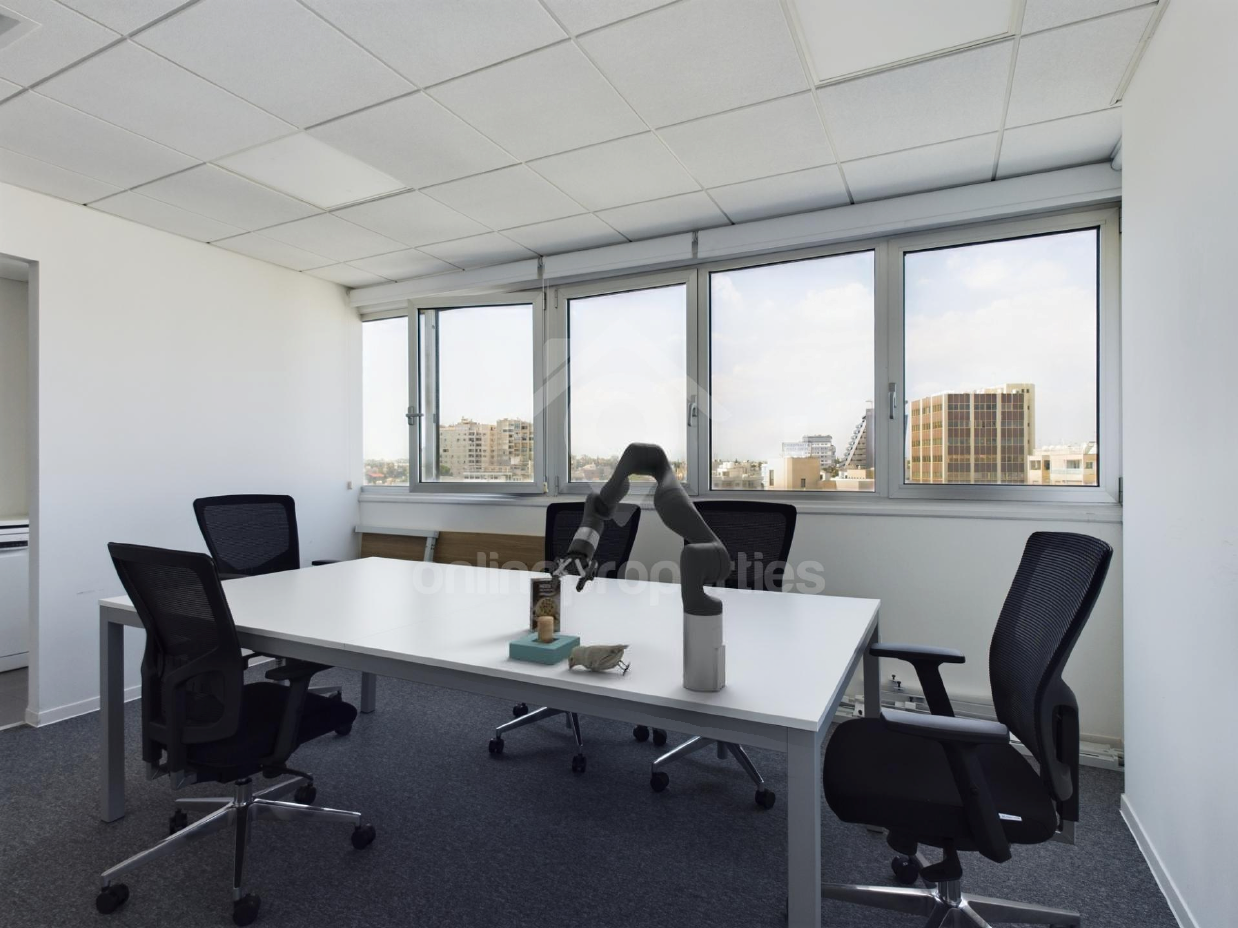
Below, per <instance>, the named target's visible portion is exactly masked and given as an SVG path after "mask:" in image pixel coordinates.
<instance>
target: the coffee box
mask: <svg viewBox="0 0 1238 928" xmlns="http://www.w3.org/2000/svg"><path fill="white" fill-rule="evenodd" d="M551 579H552V577H536V578H535V577H532V578H530V583H529V584H530V586H529V587H530V589H529V590H530V591H529V592H530V593H529V629H530V631H531V633H535V632H538V618H539V617H543V616H550V617H553V632H560V631H561V614H562V613H561V608H562V607H561V606H562V605H561V601H562V600H561V599H562V597H561V594H562V592H561V591H562V588H561V587H562V586H561V585H562V579H561V578H560V579H559V581H558V584H557V586H556V588H555V590H552V589H551V587H550V581H551Z"/></svg>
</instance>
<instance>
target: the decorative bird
mask: <svg viewBox="0 0 1238 928" xmlns="http://www.w3.org/2000/svg"><path fill="white" fill-rule="evenodd" d="M629 646H630V644H615V645H608V644H607V645H604V644H603V645H602V644H601V645H600V644H597V645H589V646H586V645H580V646H577V647H575V648H573V649H572V651H571V652H570V654H569V657H568V658H567V661H568V662H567V663H568V664H567V665H568V669H569V670H570V669H573V668H575V667H576V666H582V667H584V668H585V669H586V670H589V671H590V670H591V671H608V670H611V669H612V670H613V669H615V668H616V667H617V666H619V668H620V669H621V670H623V671H622V676H624V675H625V674H626V673H627V671H628V670H629V668H630V667H631V666H630V664H631V662H628V664H625V663H624V662H623V660H622V658H623V655H624V654H625V650H627V649H628V648H629ZM620 663H621V664H622V665H623V666H625V668H624V667H622V666H621V665H620Z"/></svg>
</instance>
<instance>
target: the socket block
mask: <svg viewBox="0 0 1238 928" xmlns="http://www.w3.org/2000/svg"><path fill="white" fill-rule="evenodd" d="M577 646H581V636H575V635H567V634H560V633H553V642H552V643H550V644H546V643H539V642H538V632H532V633H531V634H529V635H526V636H523V637H520V638H518V639H516V640H513V641H511V642H509V643H508V651H509V652H508V658H509V659H513V660H514V659H515V660H520V661H525V662H526V661H527V662H532V661H533V662H534V663H540V664H548V665H553V666H554V665H556V664H559V663H560V662H562V661H564V660H566V659H568V657H569V654H570V652H571V651H572V649H573V648H575V647H577ZM563 659H564V660H563Z"/></svg>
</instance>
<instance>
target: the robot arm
mask: <svg viewBox="0 0 1238 928" xmlns="http://www.w3.org/2000/svg"><path fill="white" fill-rule="evenodd" d="M632 475H635V476H646V477H647V476H649V477H652V478H654V480H655V481H656V483H657V486H656V489H655V491H654V494H653V506H654V509H655V511H656V513H657V514H658V517H659V518H660V520H661V521H662V523H663V524H664V526H666V527H667V528H668V529H669V530H671V532H674V534H676V535H678V536H680V537H681V538H683V539H684V540H686V541H688V542H689V544H686V545H684V546H683V548H682V550H681V551H680V556H679V573H680V575H679V576H680V595H681V600H682V613H683V615H682V630H683V631H682V638H683V639H682V645H683V646H682V668H683V669H682V673H683V674H682V679H683V680H682V683H683V684H682V685H683V687H684V688H686V689H688V688H689V690H692V691H695V690H697V692H719V691H720V690H721V689H722V688H723V687H724V686H725V685H726V643H724V638H723V635H724V634H723V631H724V629H723V628H724V625H723V622H724V618H723V617H724V616H723V615H724V614H723V612H724V611H723V609H724V607H723V606H724V605H723V601H722V599H720V598H718V597H715V596H713V595H709V594H707V593H706V592H705V589H704V584H711V583H717V582H718V583H719V582H722V581H725V580H727V579H728V578H729V577H730V574H731V573H732V561H731V557H730V555H729V553H728V551H727V549H726V547H725V545H724V544H723V543H722V541H721V540H720V539H719V538H718V536H717V535H716V534H715V533H714V532H713V531H712V529H711V528H710V527H709V525H708V524H707V523H706V522H705V520H704V519H703V517H702V515H701V514H700V512H699V511H698V510H697V508H696V506H695V503H693V501H692V499H691V498H690V496H689V495H688V492H687V491H686V490H685V488H684V487H683V485H682V483H681V482H680V480H679V479H678V476H677V475H676V474H675V472H674V469H673V467H672V465H671V463H670V461H669V458H668V457H667V454H666V452H665V450H664V449H663V447H662V446H661V445H660V444H659V445H658V444H656V443H649V442H631V443H630V444H628V446H627V447H626V448H625V450H624V451H623V453H622V454H621V456H620V459H619V461H618V463H617V465H616V467H615V469H614V471H613V473H612V475H611V477H610V478H608V480H607V481H606V483H605V484H604V485H603V487H602V488H600V491H597V490H593V491H591V492H589V493H588V494H587V497H585V501H584V511H583V516H582V521H581V522H580V526H579V528H578V529H577V531H576V532H575V534H574V537H573V539H572V541H571V543H570V546H569V547H568V550H567V553H566V557H565V558H564V559H562V558H560V557H559V556H556V557H555V559H554V560H553V562H552V564H551V566H550V568H549V569H548V573H549V575H550V576H551V577H550V578H552V579H551V581H550V587H551V589H552V590H555V588H556V586H557V584H558V581H559V579H560V580H561V578H562V577H566V576H567V575H580V577H579V578H578V581H577V582H576V583H577V584H576V586H575V590H576V592H577V593H581V592H582V591H583V590H584V587H585V585H586V583H587V582H588V581H591V582H593V581H594V580H595V577H596V574H597V571H598V568H599V564H598V561H597V560H596V559H593V557H594V554H595V551H596V550H597V547H598V543H599V541H600V537H601V535H602V533H603V531H604V526H605V523H604V521H603V520H605V521H610V520H612V519H613V518H614V517H615V515H616V513H617V511H618V506H619V504H620V502H621V501H622V500H623V499H624V498H625V497H626V496H627V494H628V493H629V491H630V487H631V485H630V482H631V481H630V479H629V477H630V476H632ZM588 568H589V569H588ZM564 569H565V570H564ZM586 569H588V572H587V574H586V572H585V570H586Z"/></svg>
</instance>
